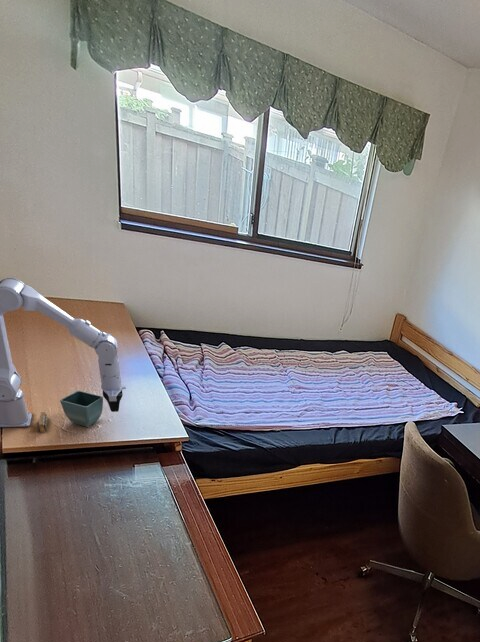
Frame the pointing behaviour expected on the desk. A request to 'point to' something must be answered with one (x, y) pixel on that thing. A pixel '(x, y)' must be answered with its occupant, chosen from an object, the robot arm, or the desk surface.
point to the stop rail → (43, 422)
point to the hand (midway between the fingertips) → (114, 410)
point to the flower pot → (82, 407)
